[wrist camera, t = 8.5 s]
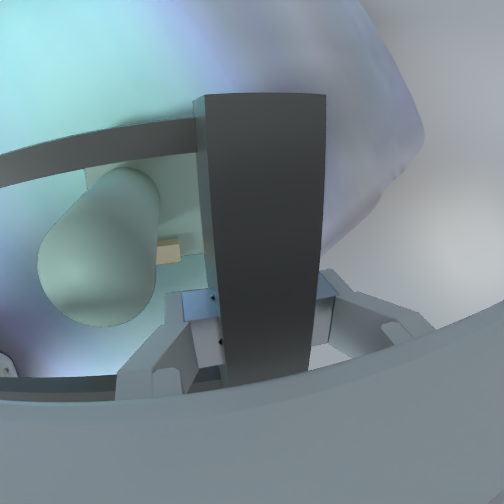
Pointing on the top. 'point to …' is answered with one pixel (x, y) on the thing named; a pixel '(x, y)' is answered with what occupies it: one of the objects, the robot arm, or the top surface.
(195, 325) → the robot arm
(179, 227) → the flanged cylinder mount
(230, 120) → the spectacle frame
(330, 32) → the top surface
